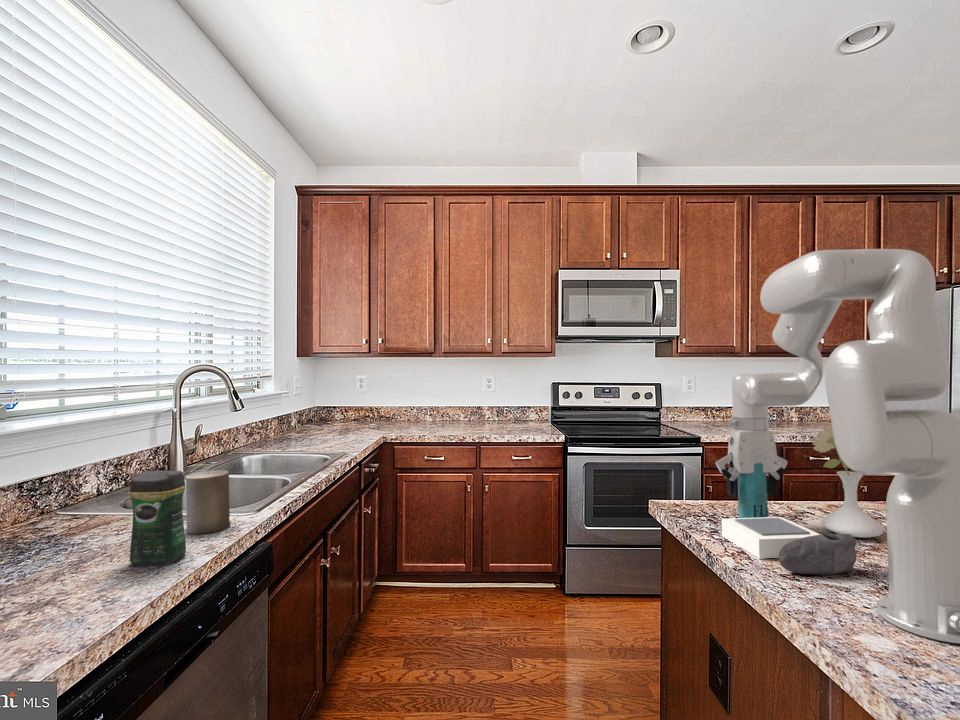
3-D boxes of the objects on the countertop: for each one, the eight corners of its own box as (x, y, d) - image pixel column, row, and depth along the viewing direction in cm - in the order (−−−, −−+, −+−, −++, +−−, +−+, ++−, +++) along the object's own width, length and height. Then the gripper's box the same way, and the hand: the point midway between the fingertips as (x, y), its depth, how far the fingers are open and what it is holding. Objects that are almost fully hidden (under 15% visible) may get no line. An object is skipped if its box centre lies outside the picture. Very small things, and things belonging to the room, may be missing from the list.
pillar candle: (238, 523, 129) (237, 465, 130) (209, 535, 120) (208, 472, 120) (207, 522, 132) (206, 464, 132) (176, 533, 122) (175, 472, 122)
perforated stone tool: (787, 579, 90) (786, 541, 91) (770, 568, 96) (769, 531, 96) (869, 577, 91) (868, 539, 91) (847, 566, 96) (846, 530, 96)
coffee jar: (192, 552, 109) (192, 466, 109) (169, 567, 101) (169, 474, 101) (148, 553, 109) (148, 467, 109) (121, 567, 101) (121, 475, 101)
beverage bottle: (753, 532, 116) (750, 446, 117) (731, 524, 123) (729, 442, 123) (775, 529, 118) (773, 444, 118) (753, 521, 124) (751, 441, 125)
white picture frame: (826, 557, 100) (826, 535, 101) (759, 559, 100) (758, 537, 100) (781, 534, 114) (781, 515, 115) (722, 536, 114) (721, 516, 114)
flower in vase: (861, 526, 119) (858, 421, 120) (896, 542, 108) (893, 427, 108) (804, 525, 120) (801, 421, 121) (832, 541, 109) (829, 427, 110)
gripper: (724, 427, 117) (725, 501, 116) (795, 425, 118) (797, 498, 117) (707, 423, 124) (709, 493, 124) (775, 422, 125) (777, 491, 125)
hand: (752, 495), depth 120 cm, fingers open, 9 cm apart
